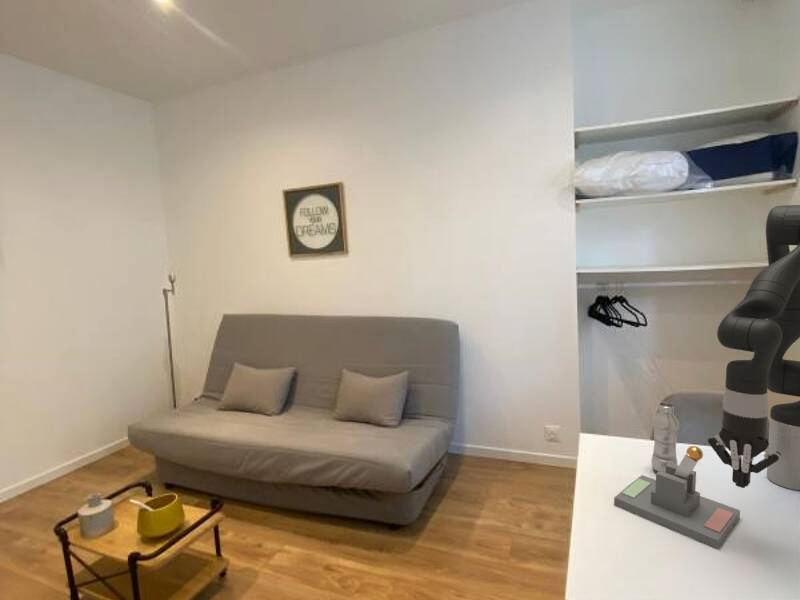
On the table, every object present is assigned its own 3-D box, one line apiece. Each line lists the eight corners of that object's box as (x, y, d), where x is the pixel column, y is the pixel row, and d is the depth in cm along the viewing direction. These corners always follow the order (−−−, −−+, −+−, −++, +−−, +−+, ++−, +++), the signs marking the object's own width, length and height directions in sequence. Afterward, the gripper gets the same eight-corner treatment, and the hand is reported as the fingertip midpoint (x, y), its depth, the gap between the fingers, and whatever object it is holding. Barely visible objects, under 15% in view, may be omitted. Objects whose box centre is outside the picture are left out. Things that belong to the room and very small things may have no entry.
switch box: (641, 481, 120) (642, 447, 119) (739, 518, 103) (741, 478, 102) (614, 504, 110) (614, 467, 109) (717, 549, 93) (719, 505, 92)
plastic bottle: (669, 466, 128) (672, 400, 126) (682, 478, 121) (685, 409, 119) (646, 465, 129) (648, 400, 126) (658, 477, 122) (660, 409, 119)
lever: (669, 480, 108) (693, 441, 103) (682, 490, 106) (707, 450, 101) (664, 485, 106) (688, 445, 101) (677, 495, 104) (702, 454, 99)
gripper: (789, 413, 91) (784, 491, 93) (714, 398, 101) (710, 468, 103) (780, 423, 86) (775, 505, 88) (702, 406, 96) (699, 480, 98)
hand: (740, 485), depth 96 cm, fingers closed
